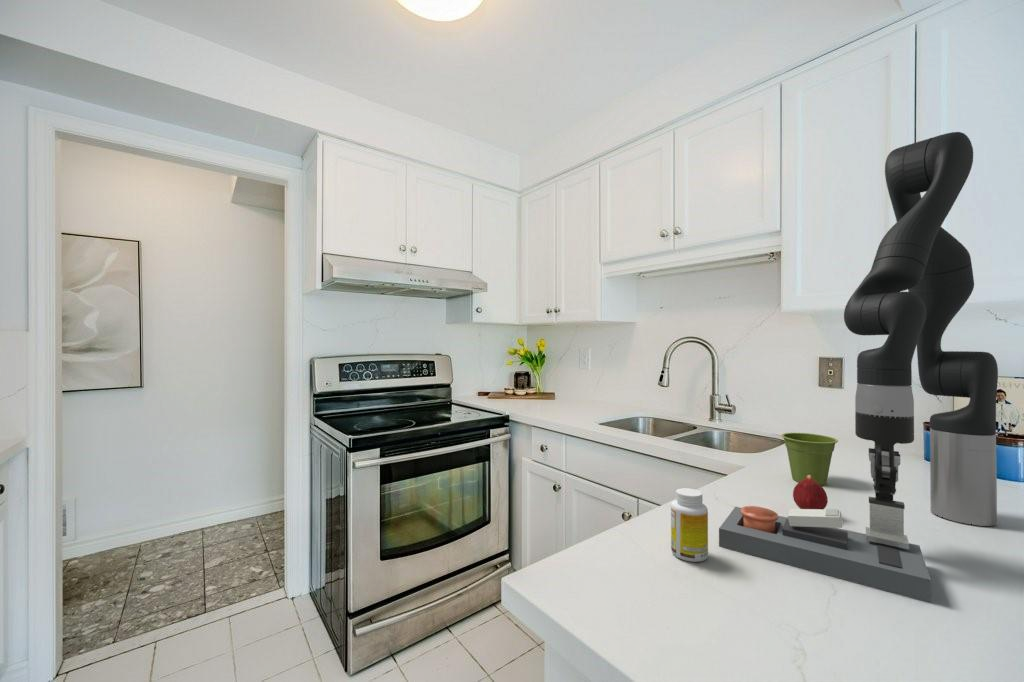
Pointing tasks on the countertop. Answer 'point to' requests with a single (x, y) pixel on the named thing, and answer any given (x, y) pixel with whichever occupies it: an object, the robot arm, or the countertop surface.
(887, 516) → the slide paddle
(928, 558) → the countertop surface
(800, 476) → the plant pot
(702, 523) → the supplement bottle
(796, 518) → the rocker switch
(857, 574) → the control panel
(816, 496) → the onion
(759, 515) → the push button
